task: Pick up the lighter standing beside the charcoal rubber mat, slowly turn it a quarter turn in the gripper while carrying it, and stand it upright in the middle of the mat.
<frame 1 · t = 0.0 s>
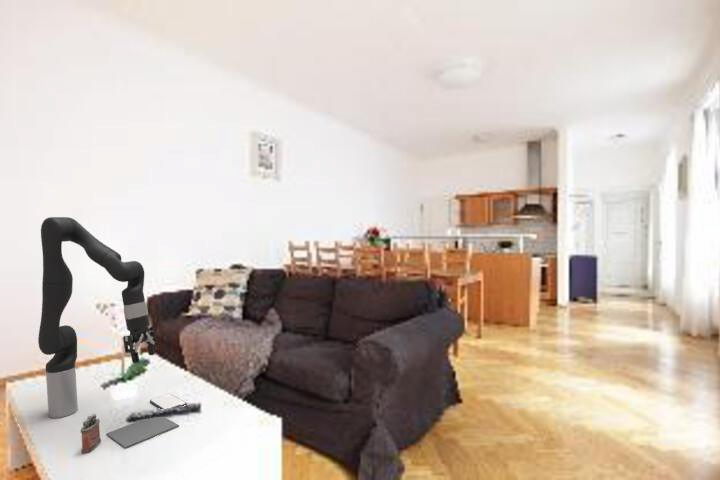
hand: (144, 358, 155), 22 cm above the table, tool pointing down, fingers open, 8 cm apart
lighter: (91, 447, 137), on the table
rubber mat: (143, 430, 147), on the table
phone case: (168, 405, 168), on the table
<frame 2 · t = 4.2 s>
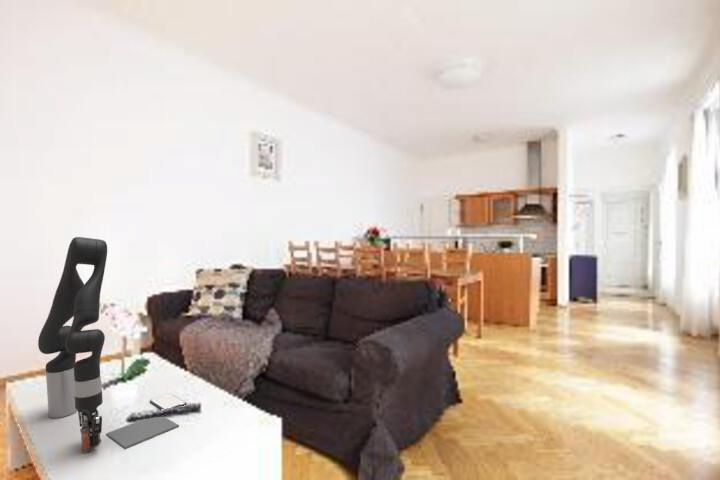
hand: (91, 442, 137), 1 cm above the table, tool pointing down, fingers closed on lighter, 5 cm apart
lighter: (91, 447, 137), on the table, touching gripper
everything else where it was.
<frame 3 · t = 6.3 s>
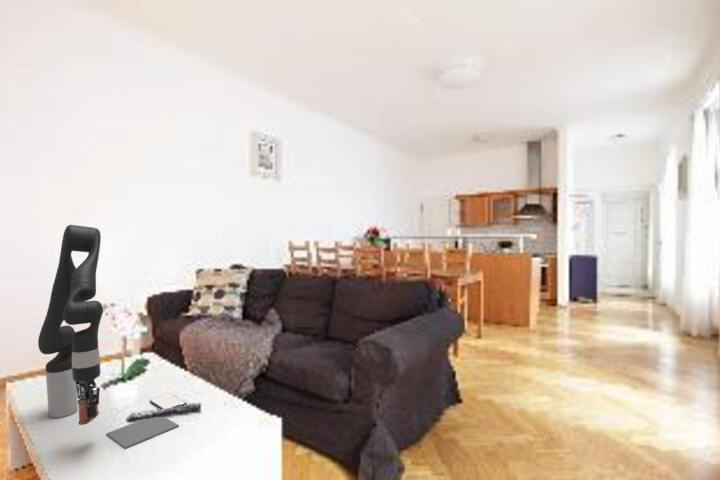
hand: (88, 414, 137), 11 cm above the table, tool pointing down, fingers closed on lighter, 5 cm apart
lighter: (89, 419, 137), point 9 cm above the table, touching gripper
everything else where it was.
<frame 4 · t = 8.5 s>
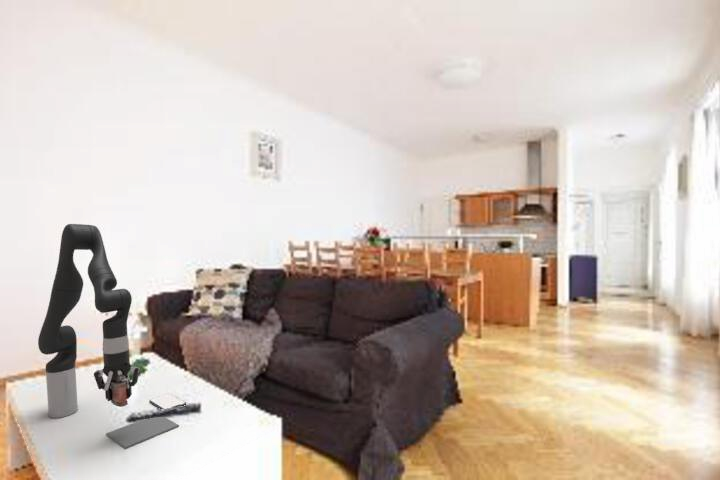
hand: (118, 398, 142), 13 cm above the table, tool pointing down, fingers closed on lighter, 5 cm apart
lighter: (119, 403, 142), point 12 cm above the table, touching gripper
everything else where it was.
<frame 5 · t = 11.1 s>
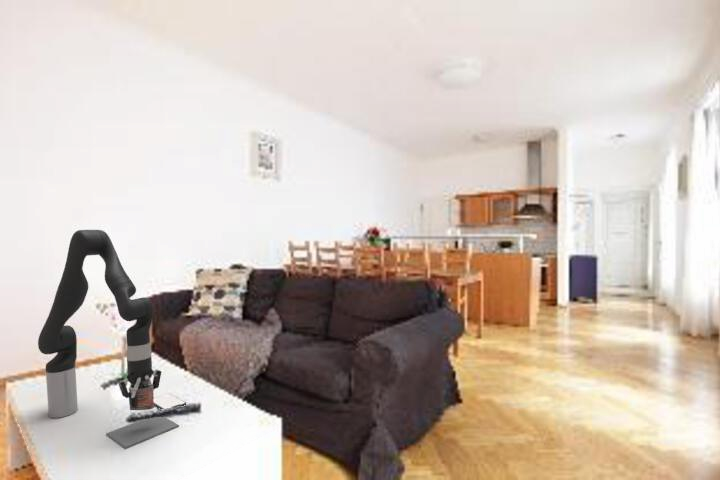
hand: (141, 404, 147), 9 cm above the table, tool pointing down, fingers closed on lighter, 5 cm apart
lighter: (142, 408, 147), point 8 cm above the table, touching gripper
everything else where it was.
when the fingers open (3 cm above the table, at t = 12.9 s): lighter stays where it is, resting on rubber mat.
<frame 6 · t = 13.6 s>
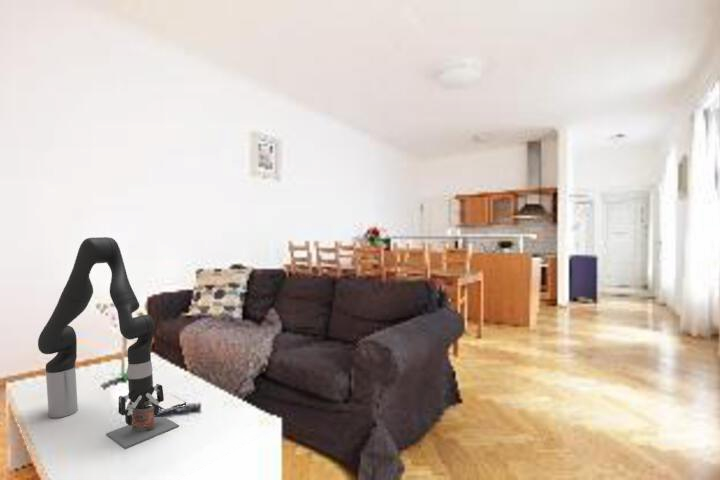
hand: (142, 419, 147), 4 cm above the table, tool pointing down, fingers open, 8 cm apart
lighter: (143, 429, 147), resting on rubber mat
everything else where it was.
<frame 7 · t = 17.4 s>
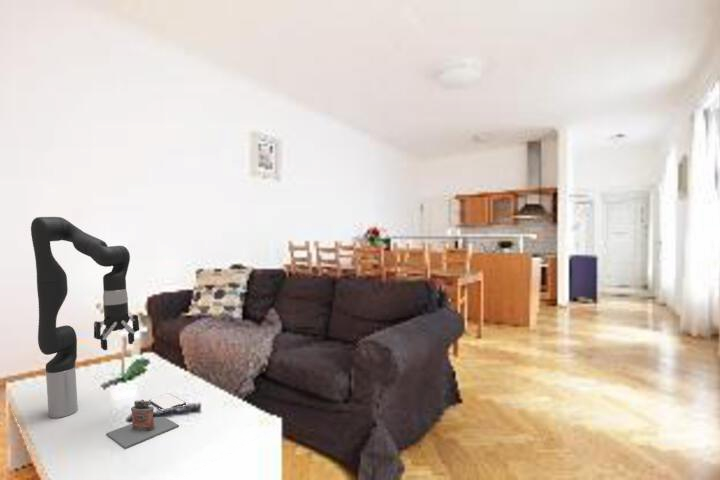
hand: (118, 346, 151), 28 cm above the table, tool pointing down, fingers open, 8 cm apart
nothing on the table moved.
at the end: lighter inside the target area (0.4 cm from its centre), resting on rubber mat; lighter tilted 0°; the gripper is holding nothing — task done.
